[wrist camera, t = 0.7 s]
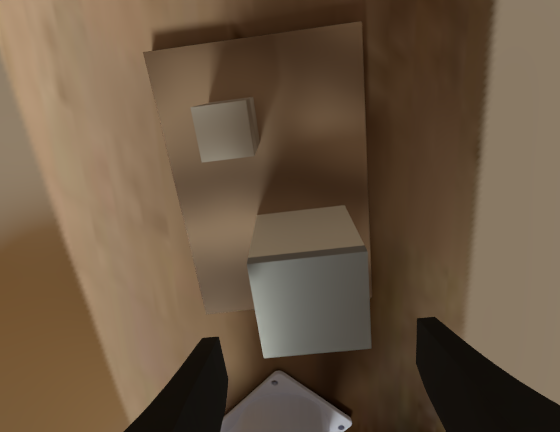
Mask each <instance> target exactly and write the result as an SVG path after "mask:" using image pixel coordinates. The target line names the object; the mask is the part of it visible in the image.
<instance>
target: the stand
mask: <svg viewBox="0 0 560 432" xmlns="http://www.w3.org/2000/svg"><path fill="white" fill-rule="evenodd" d="M143 54H144V58H145V62H146V66H147V70H148V74H149V78H150V83H151V87H152V91H153V95H154V99H155V103H156V108H157V112H158V116H159V120H160V124H161V128H162V132H163V137H164V141H165V145H166V149H167V153H168V157H169V162H170V166H171V170H172V174H173V178H174V182H175V186H176V191H177V195H178V199H179V203H180V207H181V211H182V215H183V220H184V224H185V228H186V232H187V236H188V240H189V245H190V249H191V253H192V257H193V261H194V265H195V269H196V274H197V278H198V282H199V286H200V290H201V294H202V299H203V303H204V307H205V311H206V314H214V313H224V312H234V311H244V310H254V309H255V308H254V302H253V296H252V291H251V285H250V280H249V274H248V269H247V260H248V256H249V251H250V246H251V241H252V236H253V231H254V226H255V222H256V217H257V215H262V214H271V213H280V212H289V211H297V210H306V209H315V208H324V207H332V206H341V205H345V207H346V209H347V211H348V213H349V215H350V217H351V219H352V221H353V223H354V225H355V227H356V229H357V231H358V233H359V235H360V237H361V239H362V241H363V243H364V245H365V247H366V249H367V251H368V274H369V298H372V281H371V254H370V227H369V200H368V172H367V145H366V118H365V91H364V63H363V36H362V21H359V22H352V23H345V24H338V25H331V26H324V27H317V28H310V29H303V30H296V31H289V32H282V33H275V34H268V35H261V36H254V37H247V38H239V39H232V40H225V41H218V42H211V43H204V44H197V45H190V46H183V47H176V48H169V49H162V50H155V51H148V52H143Z"/></svg>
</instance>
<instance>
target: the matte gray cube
mask: <svg viewBox="0 0 560 432" xmlns="http://www.w3.org/2000/svg"><path fill="white" fill-rule="evenodd" d="M247 269H248V274H249V280H250V285H251V291H252V296H253V302H254V308H255V313H256V319H257V324H258V330H259V335H260V341H261V346H262V352H263V357H264V358H273V357H284V356H295V355H306V354H317V353H328V352H339V351H350V350H361V349H371V324H370V299H369V274H368V251H367V249H366V247H365V245H364V243H363V241H362V239H361V237H360V235H359V233H358V231H357V229H356V227H355V225H354V223H353V221H352V219H351V217H350V215H349V213H348V211H347V209H346V207H345V205H341V206H332V207H324V208H315V209H306V210H297V211H289V212H280V213H271V214H262V215H257V217H256V222H255V226H254V231H253V236H252V241H251V246H250V251H249V256H248V260H247Z"/></svg>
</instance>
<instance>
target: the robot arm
mask: <svg viewBox="0 0 560 432" xmlns="http://www.w3.org/2000/svg"><path fill="white" fill-rule="evenodd" d="M416 364H417V367H418V370H419V373H420V376H421V379H422V381H423V384H424V387H425V389H426V392H427V394H428V396H429V398H430V400H431V402H432V404H433V406H434V408H435V410H436V412H437V414H438V416H439V418H440V420H441V422H442V424H443V426H444V428H445V430H446V432H560V405H558V404H557V403H555V402H553V401H551V400H549V399H548V398H546V397H545V396H543V395H541V394H539V393H538V392H536V391H535V390H533V389H531V388H530V387H528V386H526V385H525V384H523V383H522V382H520V381H519V380H517V379H516V378H514V377H513V376H511V375H509V374H508V373H507V372H505V371H504V370H502V369H501V368H499V367H498V366H497V365H495V364H494V363H493V362H491V361H490V360H488V359H487V358H486V357H484V356H483V355H482V354H480V353H479V352H478V351H476V350H475V349H474V348H472V347H471V346H470V345H468V344H467V343H466V342H465V341H464V340H462V339H461V338H460V337H459V336H457V335H456V334H455V333H454V332H453V331H451V330H450V329H449V328H448V327H446V326H445V325H444V324H443V323H442V322H440V321H439V320H438V319H437V318H435V317H428V318H417V346H416ZM274 380H275V381H276V382H274ZM227 388H228V376H227V371H226V367H225V362H224V358H223V354H222V349H221V345H220V340H219V337H209V338H202V339H201V340H200V342H199V343H198V344H197V346H196V347H195V348H194V350H193V351H192V352H191V354H190V355H189V357H188V358H187V359H186V361H185V362H184V363H183V365H182V366H181V367H180V369H179V370H178V371H177V372H176V374H175V375H174V376H173V377H172V379H171V380H170V381H169V383H168V384H167V385H166V386H165V387H164V389H163V390H162V391H161V392H160V393H159V394H158V396H157V397H156V398H155V399H154V400H153V401H152V403H151V404H150V405H149V406H148V407H147V408H146V409H145V410H144V411H143V412H142V414H141V415H140V416H139V417H138V418H137V419H136V420H135V421H134V422H133V423H132V424H131V425H130V426H129V427H128V428H127V429H126V430H125V431H124V432H344V431H345V430H346V429H348V428H349V427H350V426H351V425H352V421H351V418H350V417H349V416H348V415H346V414H345V413H343V412H342V411H340V410H339V409H337V408H336V407H334V406H333V405H331V404H330V403H328V402H327V401H325V400H324V399H323V398H321V397H320V396H318V395H317V394H315V393H314V392H312V391H311V390H309V389H308V388H306V387H305V386H303V385H302V384H300V383H299V382H298V381H296V380H295V379H293V378H292V377H290V376H289V375H287V374H286V373H284V372H283V371H275V372H274V373H273V374H271V375H270V376H269V377H268V378H267V379H266V380H265V381H264V382H262V383H261V384H260V385H259V386H258V387H257V388H256V389H255V390H253V391H252V392H251V393H250V394H249V395H248V396H247V397H246V398H245V399H243V400H242V401H241V402H240V403H239V404H238V405H237V406H236V407H234V408H233V409H232V410H231V411H230V412H229V413H228V414H227V415H225V416H224V412H225V407H226V398H227Z"/></svg>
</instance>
